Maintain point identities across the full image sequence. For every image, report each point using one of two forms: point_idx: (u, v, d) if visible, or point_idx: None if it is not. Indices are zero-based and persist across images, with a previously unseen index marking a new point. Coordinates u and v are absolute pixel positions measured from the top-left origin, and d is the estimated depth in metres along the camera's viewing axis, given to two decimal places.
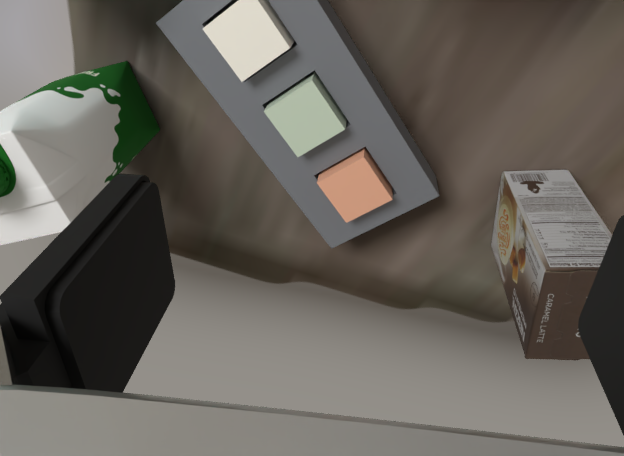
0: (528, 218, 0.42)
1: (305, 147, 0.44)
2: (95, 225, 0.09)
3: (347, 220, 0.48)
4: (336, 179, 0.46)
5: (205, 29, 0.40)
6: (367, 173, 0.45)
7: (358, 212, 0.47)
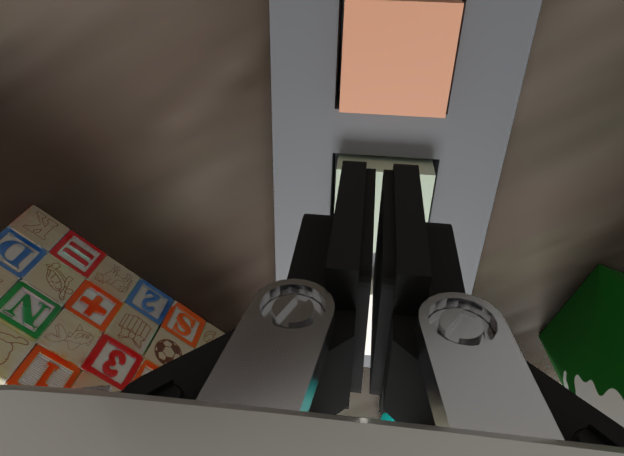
0: None
1: None
2: (358, 206, 0.09)
3: (457, 7, 0.21)
4: (409, 103, 0.24)
5: None
6: (352, 80, 0.23)
7: (423, 13, 0.22)
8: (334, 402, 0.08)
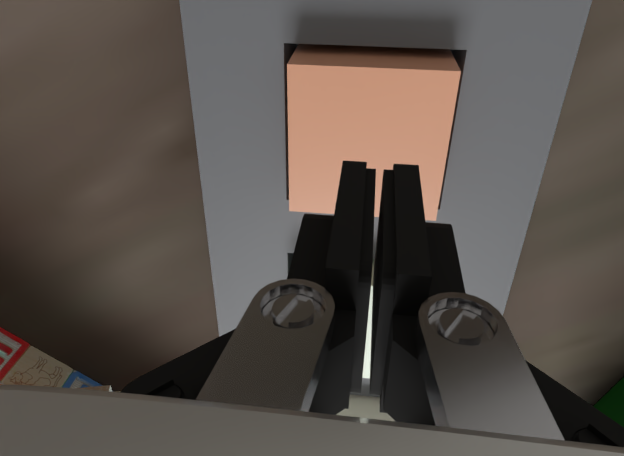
0: None
1: None
2: (358, 206, 0.09)
3: (451, 77, 0.15)
4: None
5: None
6: (305, 171, 0.17)
7: (401, 85, 0.15)
8: (334, 402, 0.08)
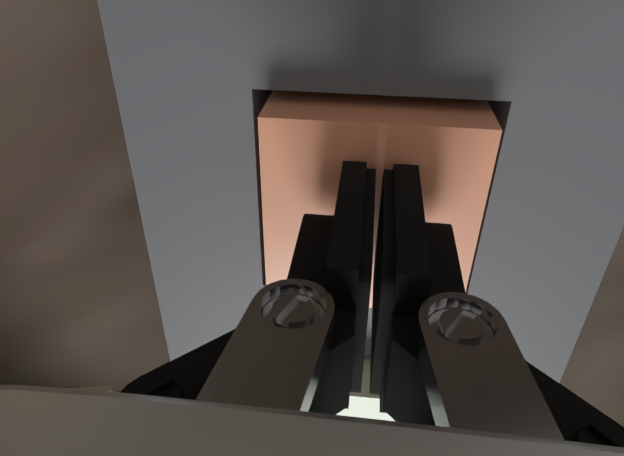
0: None
1: None
2: (358, 206, 0.09)
3: (488, 137, 0.10)
4: None
5: None
6: (286, 253, 0.12)
7: (418, 147, 0.11)
8: (334, 402, 0.08)
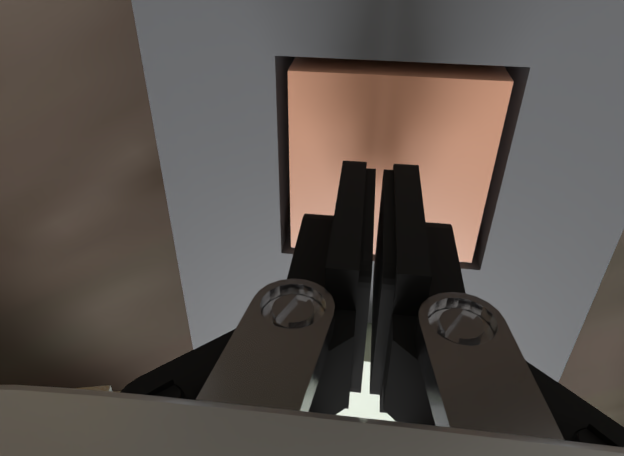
0: None
1: None
2: (358, 206, 0.09)
3: (500, 89, 0.11)
4: None
5: None
6: (310, 202, 0.13)
7: (435, 98, 0.12)
8: (334, 402, 0.08)
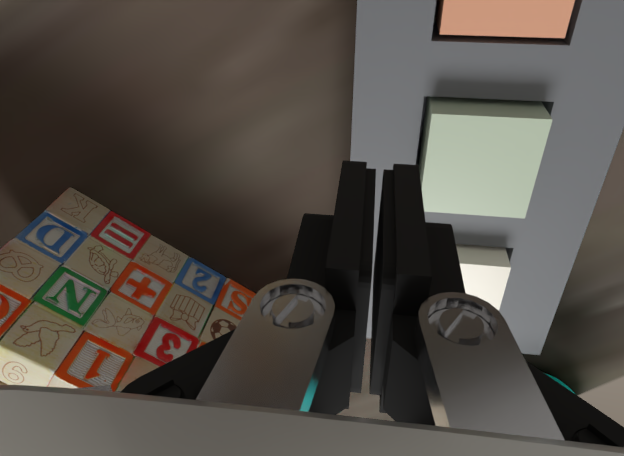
0: None
1: (522, 126, 0.22)
2: (358, 206, 0.09)
3: None
4: (523, 21, 0.21)
5: None
6: None
7: None
8: (334, 402, 0.08)
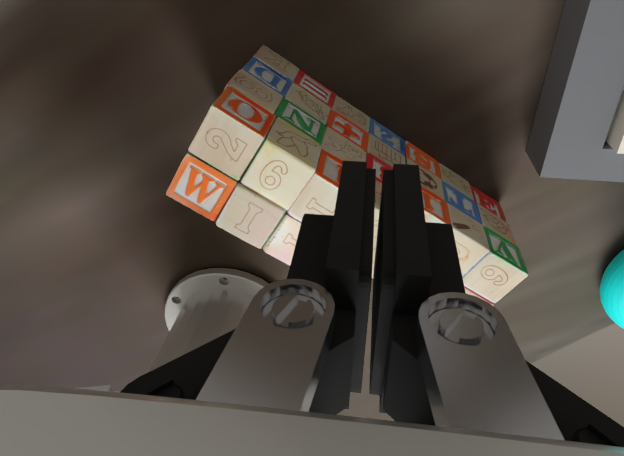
0: None
1: None
2: (358, 206, 0.09)
3: None
4: None
5: None
6: None
7: None
8: (334, 401, 0.08)
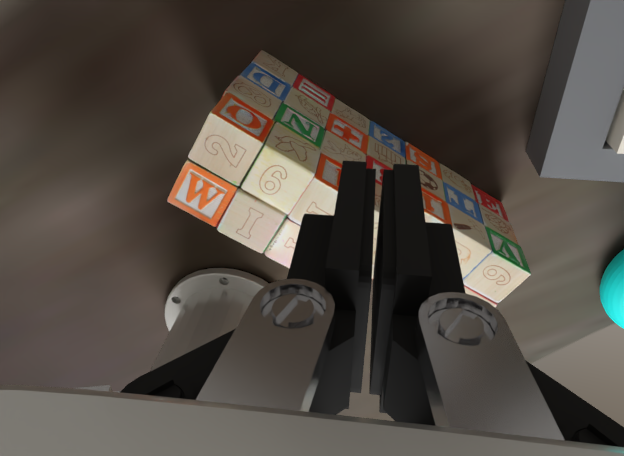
0: None
1: None
2: (358, 206, 0.09)
3: None
4: None
5: None
6: None
7: None
8: (334, 401, 0.08)
